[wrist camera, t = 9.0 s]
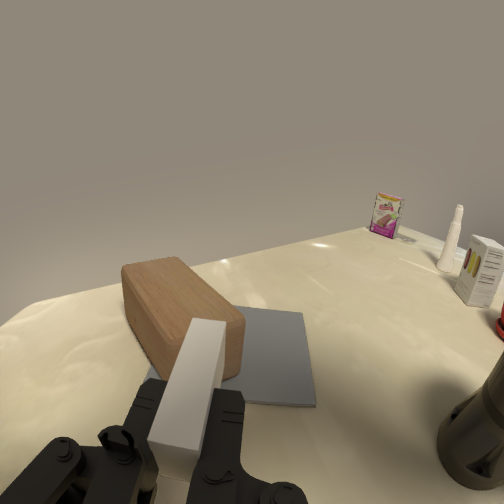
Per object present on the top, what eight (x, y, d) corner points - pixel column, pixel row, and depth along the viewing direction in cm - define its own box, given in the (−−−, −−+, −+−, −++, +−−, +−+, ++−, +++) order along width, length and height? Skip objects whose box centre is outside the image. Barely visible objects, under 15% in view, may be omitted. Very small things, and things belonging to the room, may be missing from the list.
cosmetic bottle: (440, 271, 82) (458, 205, 74) (432, 264, 88) (449, 201, 80) (454, 273, 82) (472, 209, 74) (446, 266, 88) (462, 204, 80)
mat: (301, 315, 54) (302, 312, 54) (315, 407, 34) (316, 404, 34) (183, 301, 55) (183, 298, 54) (143, 385, 34) (143, 382, 34)
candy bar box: (368, 231, 117) (376, 192, 111) (373, 229, 120) (380, 191, 114) (392, 239, 110) (401, 199, 104) (396, 237, 113) (405, 198, 107)
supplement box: (453, 289, 70) (470, 233, 64) (475, 293, 69) (493, 239, 63) (466, 306, 61) (488, 245, 55) (490, 309, 60) (511, 251, 54)
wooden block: (175, 402, 32) (124, 317, 46) (242, 376, 38) (177, 305, 52) (169, 340, 28) (118, 263, 42) (250, 315, 34) (177, 253, 48)
